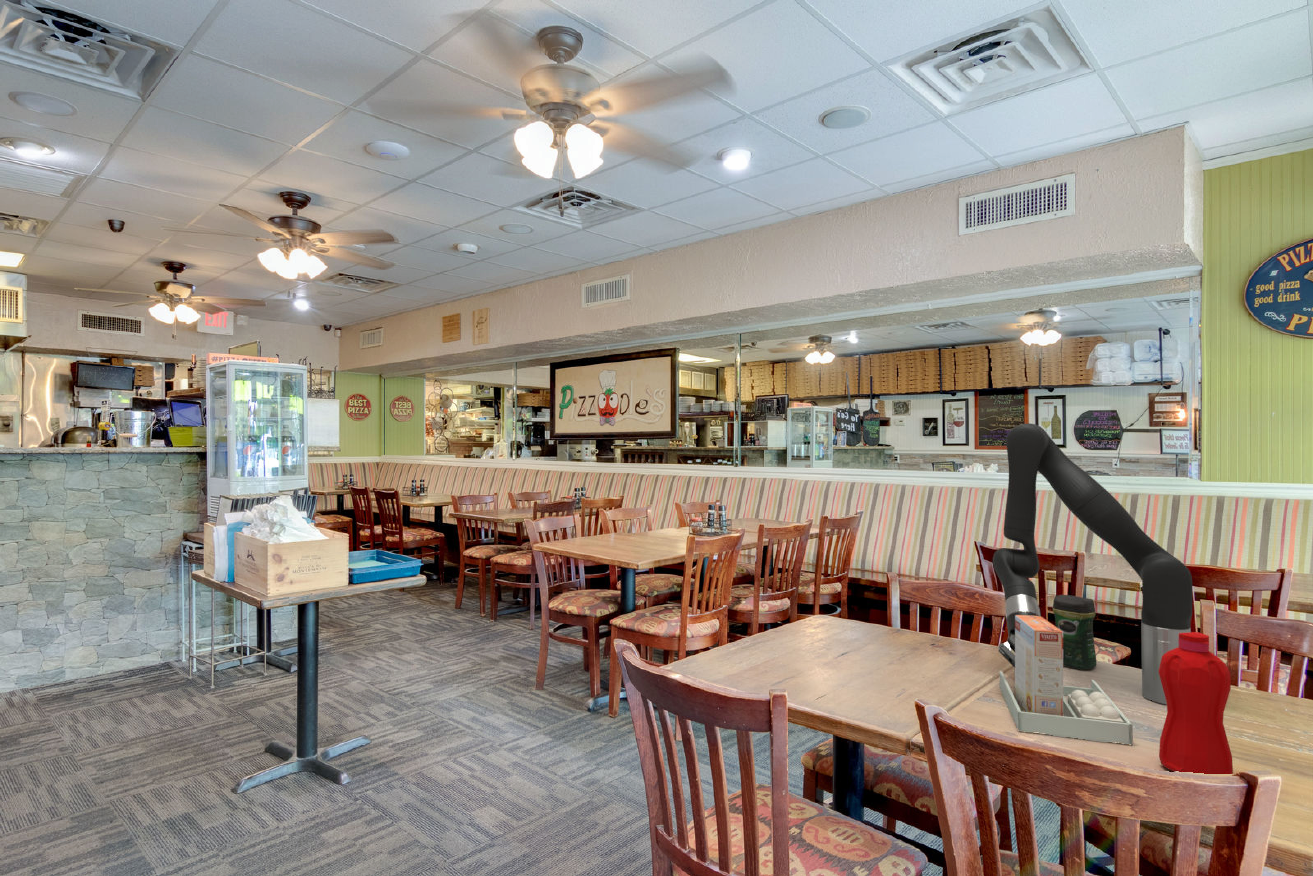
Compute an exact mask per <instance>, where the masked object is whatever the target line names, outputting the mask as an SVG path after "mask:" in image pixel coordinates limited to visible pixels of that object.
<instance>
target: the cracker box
mask: <svg viewBox="0 0 1313 876" xmlns="http://www.w3.org/2000/svg"><path fill="white" fill-rule="evenodd" d="M1014 655H1015V668H1014V672H1015V673H1014V675H1015V676H1014V697H1015V699H1016V702H1017V704H1018V706H1019V708H1020V710H1021V711H1022V712H1030V713H1039V714H1048V715H1057V716H1064V715H1063V697H1064V695H1063V686H1064V666H1063V631H1061V630H1060V629H1058V628H1057V627H1056V625H1055V624H1053V623H1051V622H1049V621H1048V620H1047V619H1045V618H1044V617H1043V616H1041V617H1040V616H1028V615H1015V652H1014Z"/></svg>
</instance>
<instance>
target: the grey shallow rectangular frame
mask: <svg viewBox="0 0 1313 876" xmlns="http://www.w3.org/2000/svg"><path fill="white" fill-rule="evenodd" d="M998 672H999V674H998V676H999V677H998V678H999V689H1000V692H1001V695H1002V697H1003V698H1004V702H1005V704H1006V706H1007V708H1008V711H1009V710H1010V711H1009V713H1010V715H1011V717H1012V720H1013V719H1014V720H1013V722H1014V724H1015V723H1016V725H1015V726H1017V727H1016V729H1017V728H1018V729H1017V731H1018V730H1019V731H1025V732H1039V733H1045V734H1050V735H1053V736H1052V737H1059V738H1066V737H1071V738H1070V739H1074V738H1078V739H1077V740H1083V739H1085V741H1091V742H1100V743H1107V742H1117V743H1118V742H1119V743H1124V744H1131V745H1130V746H1132V745H1133V743H1134V742H1133V738H1134V737H1133V736H1134V735H1133V724H1132V723H1131V722H1130V721H1129V719H1128V718H1127V716H1125V715H1124V713H1123V712H1122V711H1121V710H1120V709H1119V708H1118V706H1117V705H1116V704H1115V703H1114V702H1113V700H1112V699H1111V698H1110V697H1109V696H1108V694H1107V693H1106V692H1105V691H1104V690H1103V689H1102V688H1101V686H1100V685H1099V684H1098V683H1097V682H1096V681H1095V680H1094V679H1090V687H1082V686H1081V687H1080V686H1072V685H1071V686H1070V685H1063V714H1064V715H1063V716H1057V715H1048V714H1039V713H1030V712H1022V711H1021V710H1020V708H1019V706H1018V704H1017V702H1016V699H1015V694H1014V693H1013V691H1012V688H1011V687H1010V685H1009V682H1008V680H1007V678H1006V676H1005V674H1004V672H1003V671H1002V670H999V671H998ZM1075 690H1082V691H1084V692H1085V693H1086V694H1087V695H1088V696H1089V695H1090V694H1091V693H1093V692H1101V693H1102V694H1104V695H1105V696H1106V698H1107V700H1108V701H1109V702H1111V704H1112V705H1113V708H1115V709H1116V710H1117V711H1118V713H1119V716H1120V718H1121V719H1122V720H1123V722H1124V723H1119V722H1110V721H1102V720H1093V719H1084V718H1078V717H1077V716H1076V715H1075V713H1074V712H1073V710H1072V709H1071V707H1070V706H1069V704H1068V700H1066V698H1065V697H1064V696H1068V694H1071V693H1072V692H1073V691H1075ZM1019 731H1018V732H1019ZM1025 732H1024V733H1025ZM1050 735H1049V736H1050ZM1124 744H1123V745H1124Z"/></svg>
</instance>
